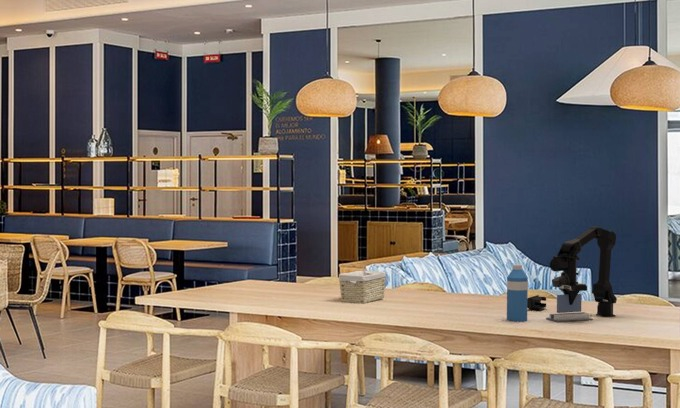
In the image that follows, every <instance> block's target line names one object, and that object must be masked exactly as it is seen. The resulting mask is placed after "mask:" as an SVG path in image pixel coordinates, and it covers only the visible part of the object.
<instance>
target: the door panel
mask: <svg viewBox="0 0 680 408" xmlns="http://www.w3.org/2000/svg"><path fill="white" fill-rule="evenodd" d="M577 312H582V293H578V294H577V296H576V298H575V300H574V302H573V304H572V305H570V303H569V294H564V293H563V294H556V314H558V313H577Z"/></svg>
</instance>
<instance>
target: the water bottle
mask: <svg viewBox="0 0 680 408" xmlns="http://www.w3.org/2000/svg"><path fill="white" fill-rule="evenodd" d="M524 271H525V270H523V264H512V269H511V271H510V272H509V274H508V275H507V277H506V321H508V322H517V323H518V322H519V323H521V322H527V321H528V308H527V299H528V298H529V297H528V293H529V292H528V288H529V287H528V282H529V281H528V278H529V277H528V275H527V274H526V272H524Z"/></svg>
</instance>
